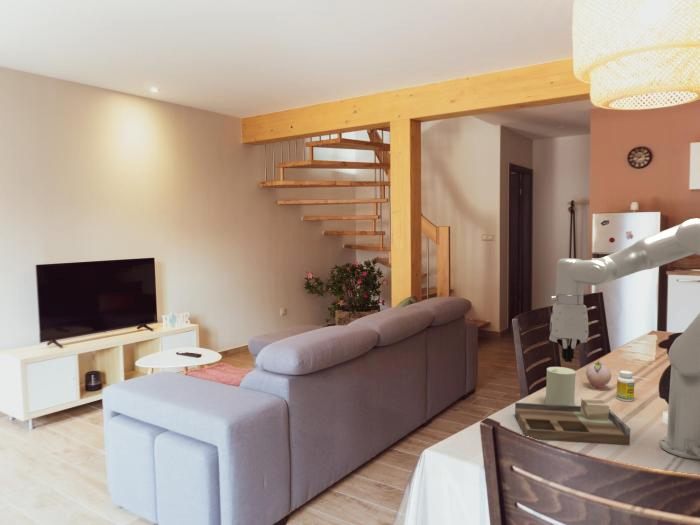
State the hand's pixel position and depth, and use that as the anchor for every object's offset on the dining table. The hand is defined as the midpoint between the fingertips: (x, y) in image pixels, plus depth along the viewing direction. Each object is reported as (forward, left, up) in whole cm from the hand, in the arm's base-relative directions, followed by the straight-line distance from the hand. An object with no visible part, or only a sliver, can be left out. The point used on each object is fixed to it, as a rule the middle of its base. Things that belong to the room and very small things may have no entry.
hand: (567, 360), depth 160 cm
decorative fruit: (+40, -22, -19) cm, 49 cm away
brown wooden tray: (-4, 0, -19) cm, 20 cm away
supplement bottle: (+28, -27, -19) cm, 44 cm away
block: (+1, -8, -17) cm, 19 cm away
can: (+19, -3, -19) cm, 27 cm away
